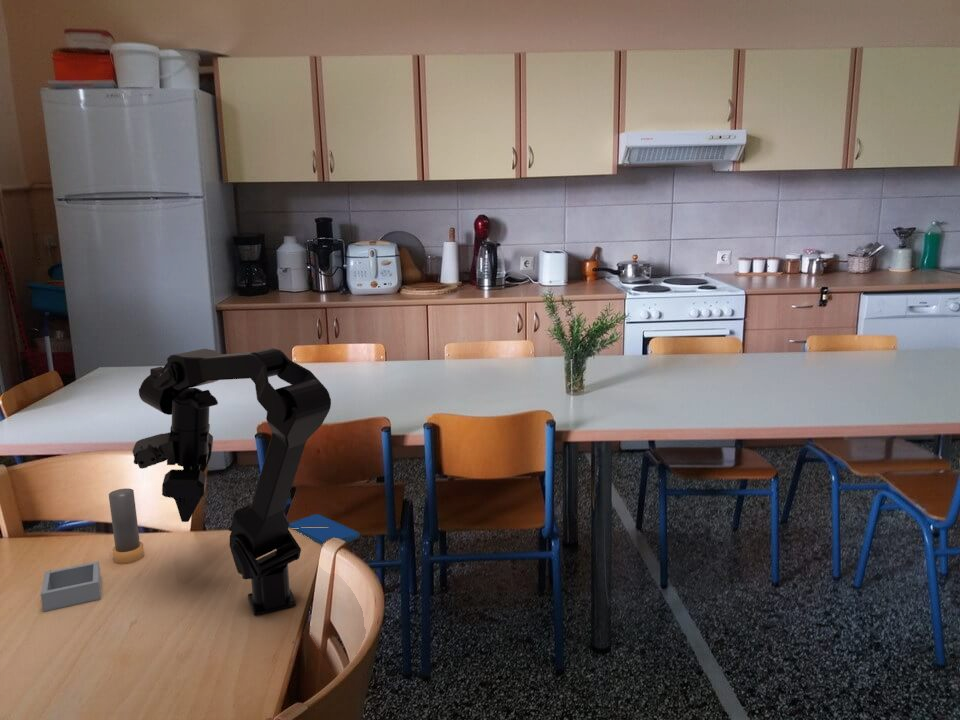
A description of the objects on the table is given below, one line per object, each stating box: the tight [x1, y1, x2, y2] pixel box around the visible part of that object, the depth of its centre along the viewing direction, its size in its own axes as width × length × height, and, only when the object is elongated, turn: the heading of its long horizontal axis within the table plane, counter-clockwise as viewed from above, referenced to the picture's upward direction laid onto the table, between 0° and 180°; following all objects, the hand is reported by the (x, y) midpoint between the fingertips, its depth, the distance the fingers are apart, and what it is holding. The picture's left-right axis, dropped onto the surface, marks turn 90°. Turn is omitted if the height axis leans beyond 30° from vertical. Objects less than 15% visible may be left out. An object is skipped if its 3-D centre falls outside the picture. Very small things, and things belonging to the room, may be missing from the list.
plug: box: [108, 488, 145, 565], centre depth 132 cm, size 5×5×12 cm
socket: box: [40, 560, 102, 612], centre depth 121 cm, size 8×8×3 cm
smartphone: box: [288, 513, 361, 546], centre depth 143 cm, size 7×1×15 cm
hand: (188, 506), depth 126 cm, fingers open, 9 cm apart
